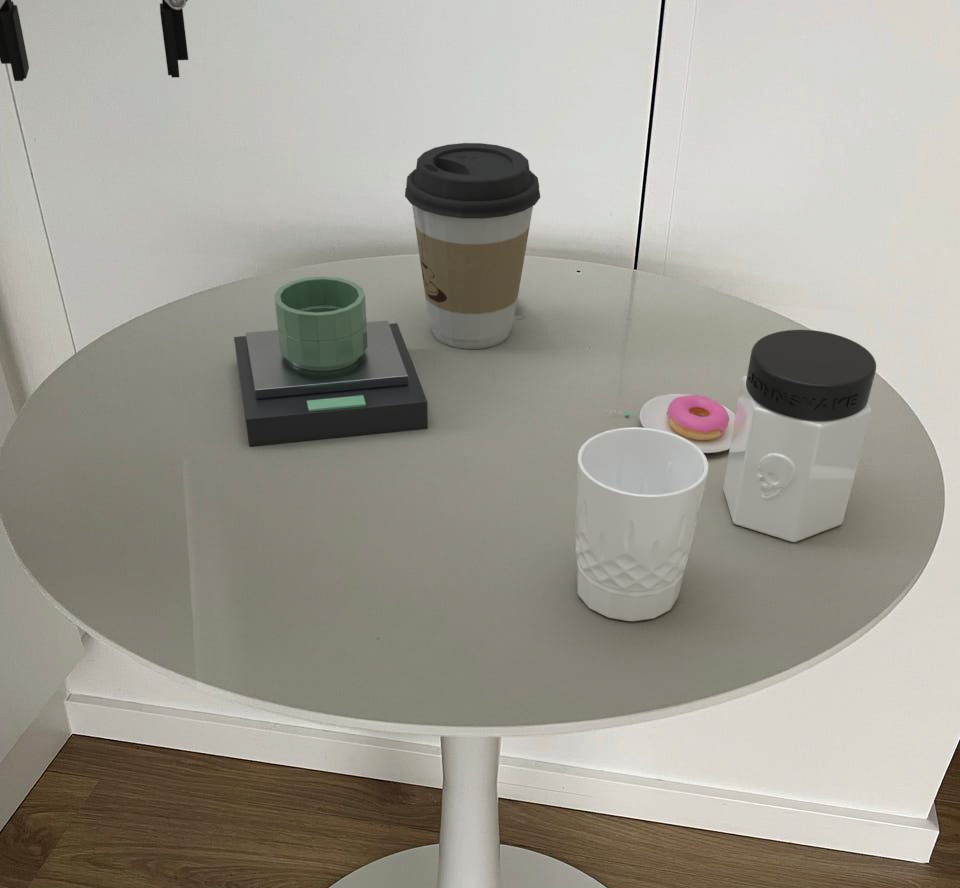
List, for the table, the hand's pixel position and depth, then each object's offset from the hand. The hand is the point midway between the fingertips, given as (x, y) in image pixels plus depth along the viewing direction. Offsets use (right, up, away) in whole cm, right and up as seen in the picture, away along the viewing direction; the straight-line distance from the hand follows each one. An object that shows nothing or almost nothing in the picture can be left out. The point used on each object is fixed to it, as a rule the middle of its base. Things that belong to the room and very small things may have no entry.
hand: (98, 73), depth 77 cm
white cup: (+35, -34, +1) cm, 49 cm away
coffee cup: (+24, -9, +29) cm, 39 cm away
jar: (+47, -28, +8) cm, 55 cm away
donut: (+40, -21, +16) cm, 48 cm away
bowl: (+12, -14, +18) cm, 26 cm away
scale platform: (+12, -15, +19) cm, 27 cm away
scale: (+13, -17, +20) cm, 29 cm away
